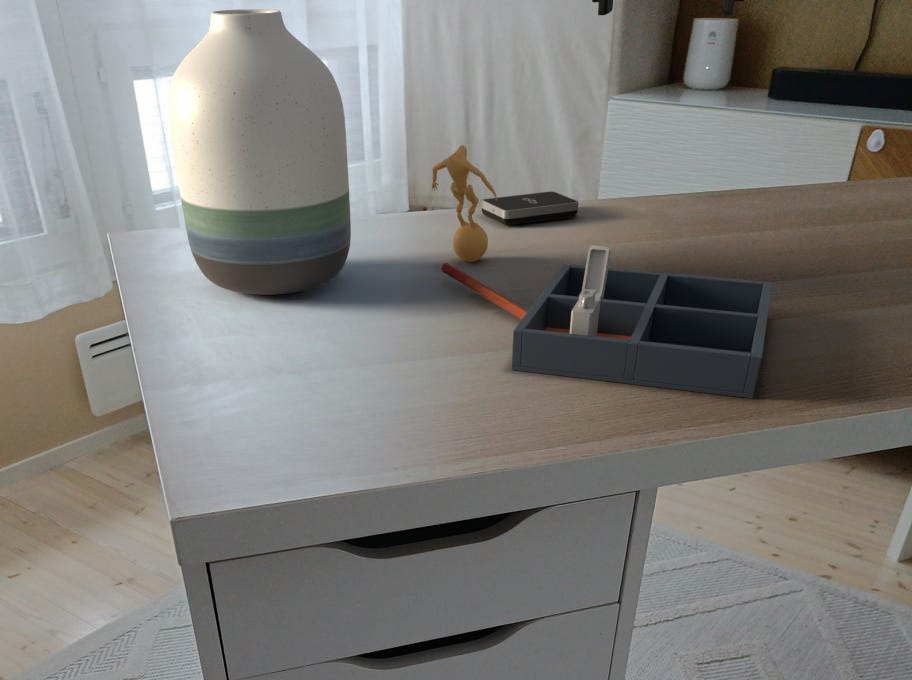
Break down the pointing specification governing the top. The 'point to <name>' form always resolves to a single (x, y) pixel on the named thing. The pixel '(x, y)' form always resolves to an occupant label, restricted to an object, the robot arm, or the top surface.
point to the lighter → (591, 292)
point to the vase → (260, 157)
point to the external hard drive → (530, 208)
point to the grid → (651, 331)
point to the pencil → (485, 291)
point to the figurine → (468, 236)
